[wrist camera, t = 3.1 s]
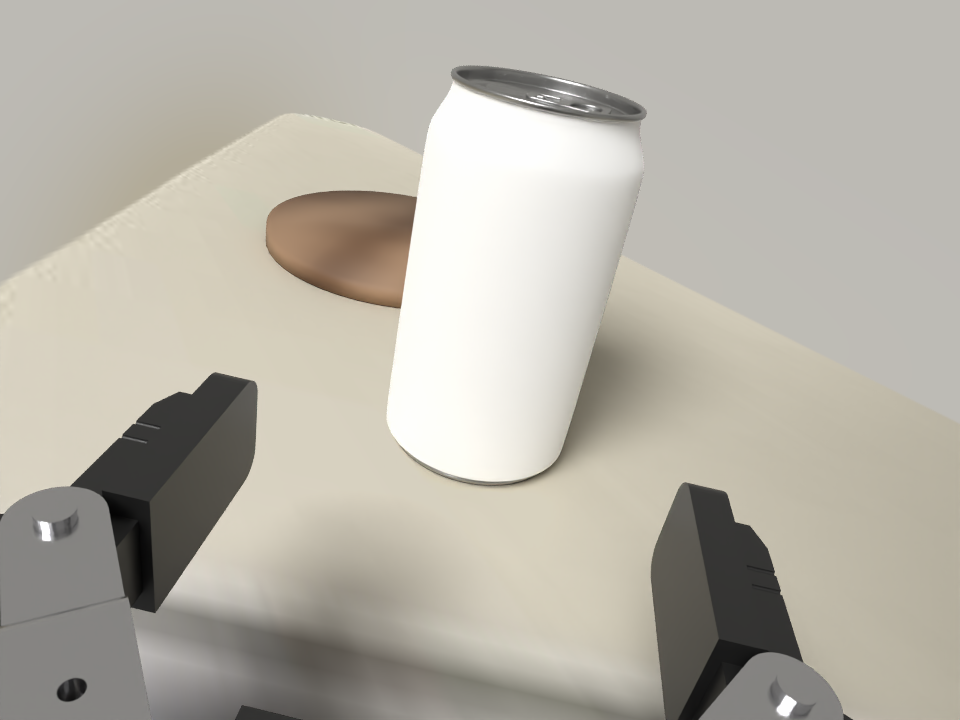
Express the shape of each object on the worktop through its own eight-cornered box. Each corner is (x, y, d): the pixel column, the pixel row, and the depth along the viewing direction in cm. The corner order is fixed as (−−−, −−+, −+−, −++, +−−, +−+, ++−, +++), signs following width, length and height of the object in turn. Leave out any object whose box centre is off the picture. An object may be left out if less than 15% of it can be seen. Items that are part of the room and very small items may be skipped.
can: (421, 367, 30) (474, 55, 24) (574, 415, 28) (668, 102, 23) (353, 452, 24) (400, 72, 18) (540, 516, 23) (654, 134, 17)
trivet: (547, 249, 45) (551, 233, 44) (479, 339, 33) (483, 319, 32) (342, 190, 47) (343, 175, 47) (208, 253, 35) (208, 234, 35)
